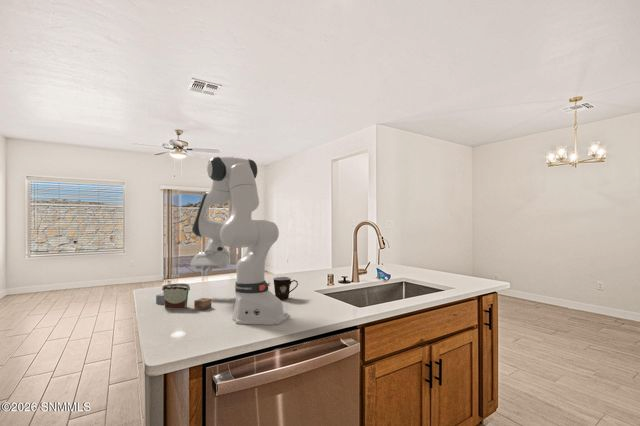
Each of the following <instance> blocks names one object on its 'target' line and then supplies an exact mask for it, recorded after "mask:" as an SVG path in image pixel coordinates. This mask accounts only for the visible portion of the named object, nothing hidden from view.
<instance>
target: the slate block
mask: <svg viewBox="0 0 640 426" xmlns="http://www.w3.org/2000/svg"><path fill="white" fill-rule="evenodd" d="M155 304H159V305H165V304H164V292H163V293H160V294H156V295H155Z"/></svg>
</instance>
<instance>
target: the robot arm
mask: <svg viewBox="0 0 640 426" xmlns="http://www.w3.org/2000/svg"><path fill="white" fill-rule="evenodd" d="M206 171H207V175H208V177H209V178H210V179H211V180H212V185H211V186H212V187H211V188H210V190H208V191H206V192H205V193H204V194H203V196H202V199H201V202H200V205H199V206H198V207H199V208H198V210H197V214H196V218H195V220H194V222H193V224H192V233H193V234H194V236H196V237H200V238H206V239H209V242H208V243H207V245H206V247H205V249H204V251H202V252H198V253H196V254H195V255H194V256H193V258H192V259H191V261H190V263H189V266H190V268H192V269H193V270H201V273H200V275H201V276H203V277H204V276H205V277H208V276H209V274H210V273H211V272H212V271H213V270H214V269H226V268H227V267H228V265H229V261H230V257H231V254H230V252H229V251H228V250H227V248H225V247H228V248H235V249H241V248H247V250H246V251H245V254H244V255H243V256H242V257H241V258H239V259H238V260H237V263H236V281H235V286H234V287H235V301H234V308H233V309H234V310H233V312H232V316H231V318H232V320H234V321H235V324H240V325H241V324H242V325H243V324H244V325H269V326H270V325H272V326H273V325H278V324H280V323H283V322H284V321H286V320H287V319H288V318H289V317H290V316H289V312H288V311H284V306H283V302H282V300H280V299H279V298H277V297H276V296H275V293H273V292H271V291H270V290H269V286H271V282H268V283H267V281H266V280H265V268H266V267H265V266H266V260H267V256H268V254H269V251H270V249H271V248H272V246H273V245H274V244H275V243H276V242H277V240H278V238H279V234H280V233H279V227H278V225H277V224H276V223H275V222H273V221H269V220H266V219H264V220H263V219H252V214H253V213H252V212H254V211H256V210H257V209H258V207H259V206H260V197H259V193H258V188H257V183H256V178H257V176H258V166H257V163H256V161H255V160H253V159H251V158H242V157H234V156H224V157H222V156H221V157H220V156H216V157H215V156H214V157H213V156H212V157H211V158H210V159H209V160H208V161H207V166H206ZM230 201H231V212H230V214H229V217H228V219H227V220H226V222H224V221H223V222H222V221H219V220H215V219H211V218H207V214H208V211H209V208H210V207H211V206H215V205H224V204H227V203H230Z"/></svg>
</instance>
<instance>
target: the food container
mask: <svg viewBox="0 0 640 426" xmlns="http://www.w3.org/2000/svg"><path fill="white" fill-rule="evenodd" d="M161 291H162V292H163V293H164V304H163V305H164V309H167V310H168V309H169V310H170V309H171V310H186V309H187V308H188V300H189V299H188V298H189V291H191V287H190V285H189V283H179V282H178V283H167V284H165V285H164V284H163V286H162V289H161Z"/></svg>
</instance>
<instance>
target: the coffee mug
mask: <svg viewBox="0 0 640 426" xmlns="http://www.w3.org/2000/svg"><path fill="white" fill-rule="evenodd" d="M293 282H296V285H295V287H294V288H293V289H292V288H291V284H292V283H293ZM298 285H299V283H298V281H297V280H295V279H291V277H290V276H289V277H288V276H277V277H273V287H274V295H275V296H276V297H277V298H279V299H280V300H281V301H286V300H289V299H290V298H289V297H290V293H291V292H293V291H294V290H295V289H297V288H298ZM290 288H291V290H290Z"/></svg>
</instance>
